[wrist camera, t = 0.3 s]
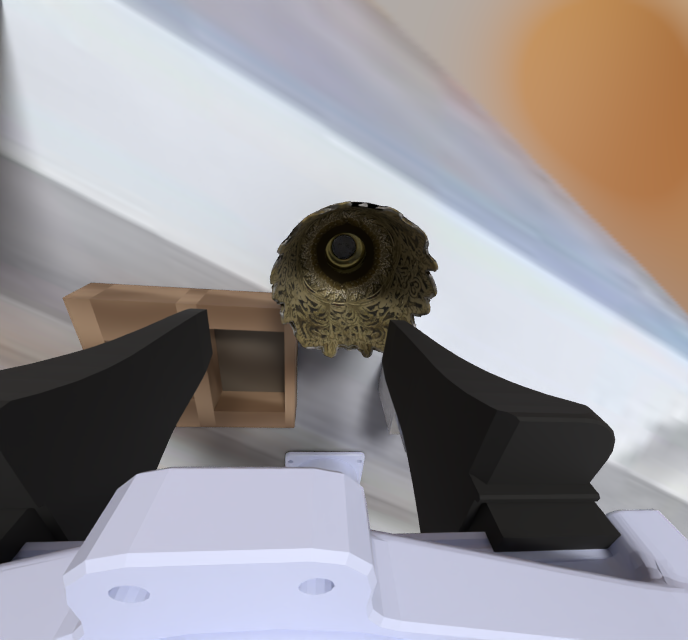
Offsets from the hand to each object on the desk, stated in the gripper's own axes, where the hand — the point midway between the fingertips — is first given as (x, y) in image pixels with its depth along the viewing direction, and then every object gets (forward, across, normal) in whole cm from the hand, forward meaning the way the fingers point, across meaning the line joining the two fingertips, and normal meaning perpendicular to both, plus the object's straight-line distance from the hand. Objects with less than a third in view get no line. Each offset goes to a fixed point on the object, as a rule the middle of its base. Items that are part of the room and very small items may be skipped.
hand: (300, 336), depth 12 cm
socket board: (+10, +8, +8) cm, 15 cm away
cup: (+10, -2, -1) cm, 10 cm away
